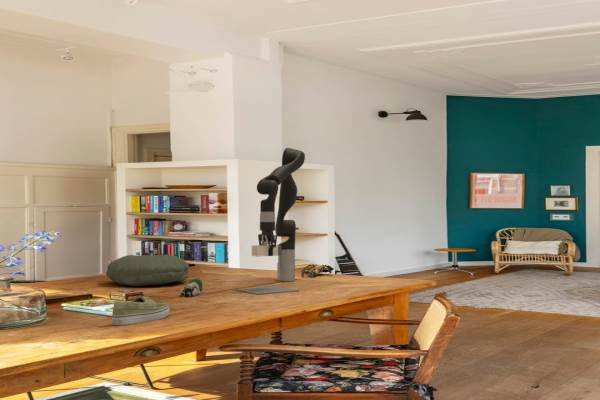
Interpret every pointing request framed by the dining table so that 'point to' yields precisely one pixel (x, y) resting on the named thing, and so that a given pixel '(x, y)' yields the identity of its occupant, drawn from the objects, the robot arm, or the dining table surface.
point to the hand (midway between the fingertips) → (267, 255)
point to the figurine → (316, 270)
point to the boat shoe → (138, 311)
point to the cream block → (265, 250)
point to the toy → (192, 288)
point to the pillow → (147, 270)
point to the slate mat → (267, 290)
